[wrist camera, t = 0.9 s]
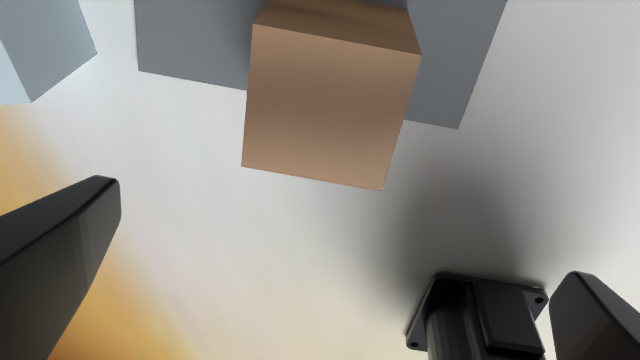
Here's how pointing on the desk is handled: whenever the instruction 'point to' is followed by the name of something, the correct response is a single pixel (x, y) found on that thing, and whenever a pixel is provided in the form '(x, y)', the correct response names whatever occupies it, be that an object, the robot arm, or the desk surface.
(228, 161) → the desk surface
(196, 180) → the desk surface
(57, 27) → the block
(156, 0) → the build mat
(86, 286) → the robot arm
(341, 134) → the walnut block
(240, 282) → the desk surface
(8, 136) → the desk surface
